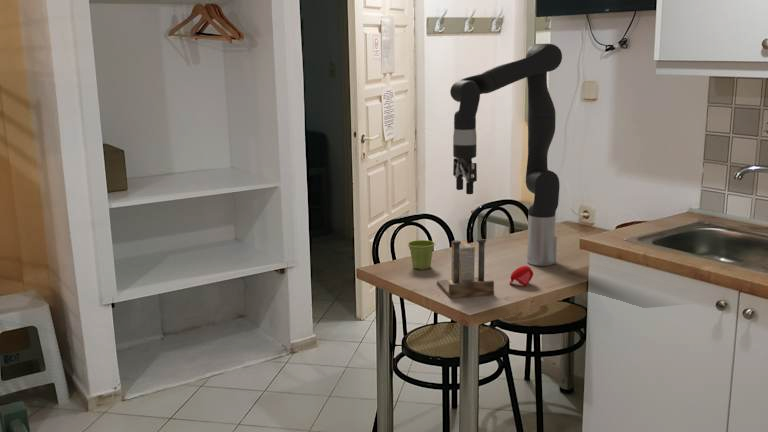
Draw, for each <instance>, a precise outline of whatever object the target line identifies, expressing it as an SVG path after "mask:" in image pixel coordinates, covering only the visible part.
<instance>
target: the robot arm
mask: <svg viewBox="0 0 768 432" xmlns="http://www.w3.org/2000/svg"><path fill="white" fill-rule="evenodd" d="M526 51H527V52H526V54H525V57H524V58H521V59H518V60H515V61H510V62H507V63H503V64H500V65H498V66H495V67H492V68H490V69H487V70H485V71H482V72H481V73H478V74H475V75H471V76H467V77H465V78H462V79H459V80H457V81H455V82H454V83H453V84H452V85H451V87H450V91H449V92H450V93H449V94H450V96H451V97H450V98H452V100H453V101H456V102H457V103H459V109H458V110H457V111H456V112H455V113H454V115H453V141H452V147H453V149H452V152H453V153H452V154H453V155H452V156H453V164H452V165H453V166H452V167H453V170H452V171H453V172H452V175H453V176H454V177H455V180H456V183H455V185H456V187H455V188H456V190H457V191H462V190H464V178H465V182H466V183H465V187H466V188H465V189H466V190H465V192H466V195H472V194H474V183H475V182H477V180H478V176H477V175H478V173H477V171H478V170H477V169H478V167H477V166H478V165H477V162H473V161H472V160H473V159H475V158H477V129H476V127H477V121H476V120H477V112H478V108H479V104H480V99H481V95H483V94H491V93H493V92H495V91H498V90H500V89H502V88H504V87H506V86H508V85H511V84H514V83H515V82H519V81H521V80H523V79H527V81H526V82H527V160H526V161H527V162H526V163H527V164H526V172H525V185H526V188H527V190H528V191H529V192H530V193H532V194H534V196H533V197H534V198H533V203H532V204H531V205H530V206H529V207H528V214H527V215H528V217H527V218H528V221H527V256H526V259H527V260H526V263H527V264H529V265H531V266H537V267H538V266H540V267H541V266H542V267H545V266H552V265H555V264H557V253H558V252H557V247H558V246H557V245H558V238H557V236H556V211H557V209H558V206H559V201H560V199H559V198H560V178H559V176H558V174H557V173H555V172H554V171H552V170H550V169H549V168H548V155H549V153H548V152H549V148H550V146H551V144H552V141H553V138H554V137H555V132H556V108H555V104H554V102H553V99H552V97H551V94H550V92H549V88H548V73H549V72H552V71H554V70H557V68H559V67H560V65H561V63H562V61H563V53H562V50H561V48H559V46H557V45H556V44H554V43H534V44H532V45H530V46H529V48H528V49H527V50H526Z"/></svg>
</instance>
